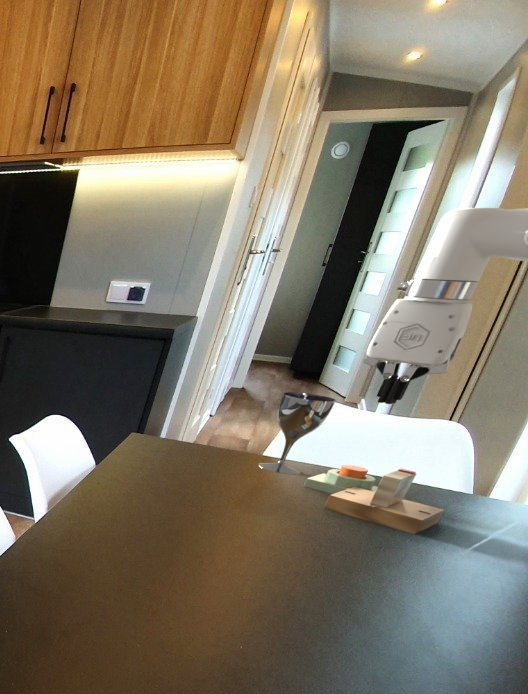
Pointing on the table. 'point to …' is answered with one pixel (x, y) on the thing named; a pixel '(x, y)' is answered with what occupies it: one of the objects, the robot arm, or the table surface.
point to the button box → (339, 482)
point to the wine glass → (298, 422)
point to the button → (353, 471)
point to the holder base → (384, 510)
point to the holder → (393, 487)
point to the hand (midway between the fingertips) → (386, 402)
